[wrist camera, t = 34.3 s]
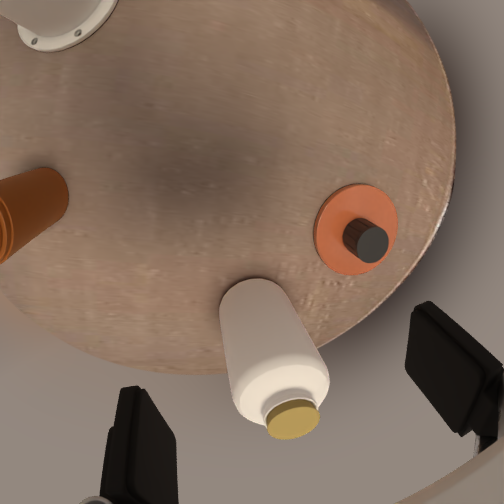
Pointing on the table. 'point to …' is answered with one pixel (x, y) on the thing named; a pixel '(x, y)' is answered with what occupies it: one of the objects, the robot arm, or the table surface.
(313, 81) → the table surface
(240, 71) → the table surface
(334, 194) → the orange round coaster
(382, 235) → the cap
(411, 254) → the table surface
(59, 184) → the sauce bottle
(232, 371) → the potion bottle
